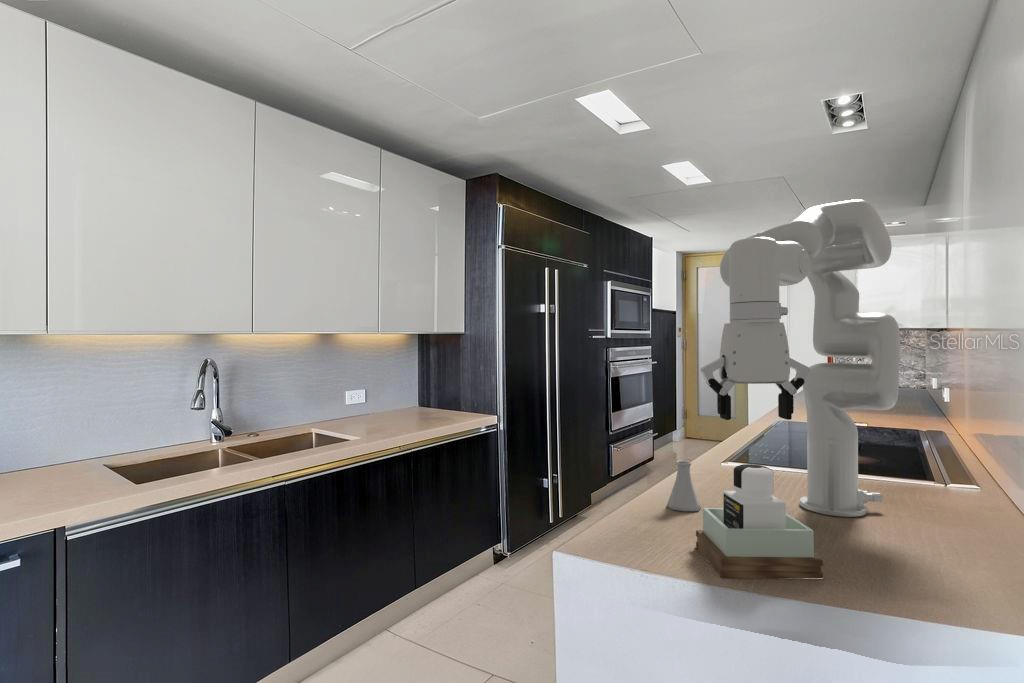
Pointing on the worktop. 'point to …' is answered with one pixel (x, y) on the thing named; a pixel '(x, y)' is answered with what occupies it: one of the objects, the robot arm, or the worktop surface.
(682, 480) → the flask
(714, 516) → the sage crate
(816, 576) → the brown wooden flat block
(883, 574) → the worktop surface
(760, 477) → the medicine bottle
